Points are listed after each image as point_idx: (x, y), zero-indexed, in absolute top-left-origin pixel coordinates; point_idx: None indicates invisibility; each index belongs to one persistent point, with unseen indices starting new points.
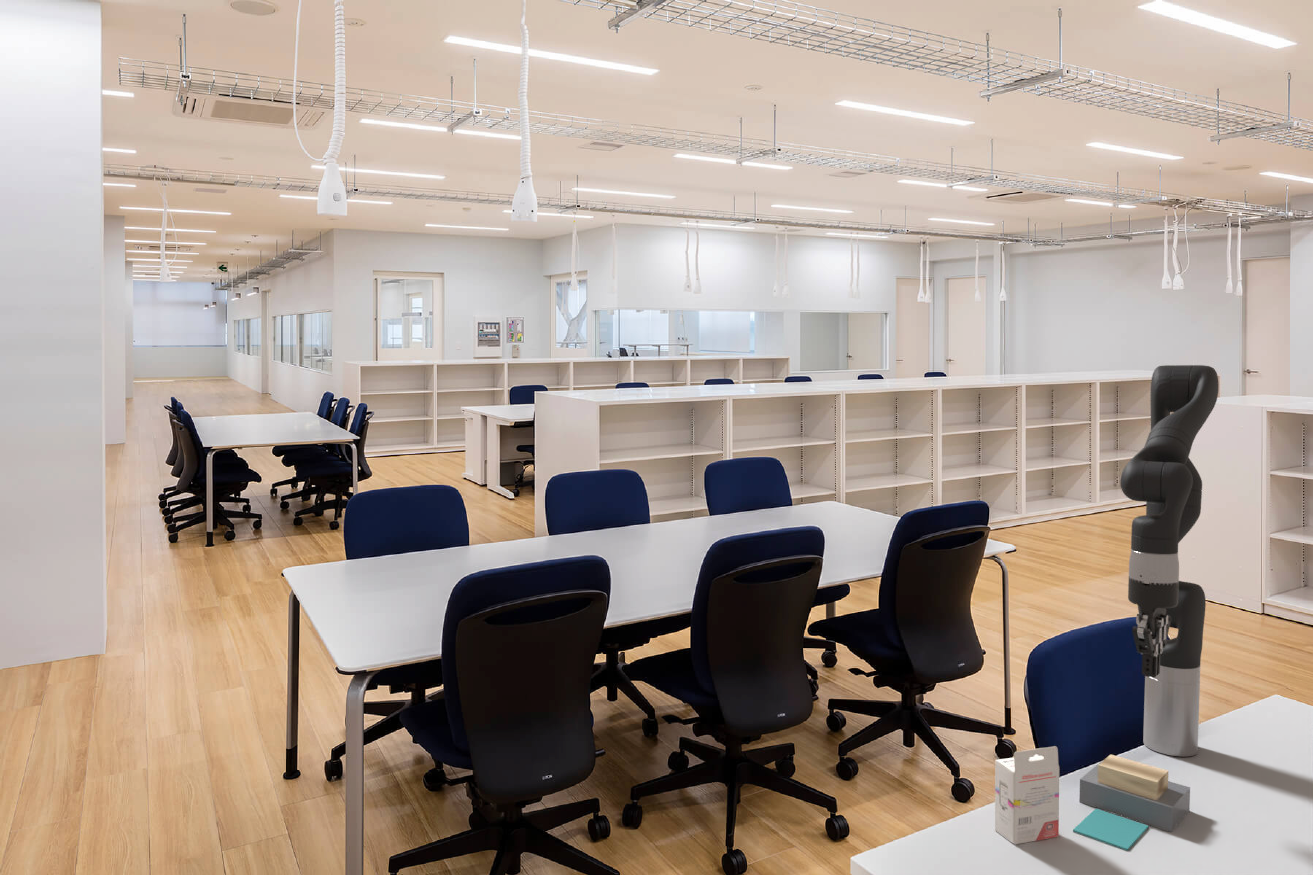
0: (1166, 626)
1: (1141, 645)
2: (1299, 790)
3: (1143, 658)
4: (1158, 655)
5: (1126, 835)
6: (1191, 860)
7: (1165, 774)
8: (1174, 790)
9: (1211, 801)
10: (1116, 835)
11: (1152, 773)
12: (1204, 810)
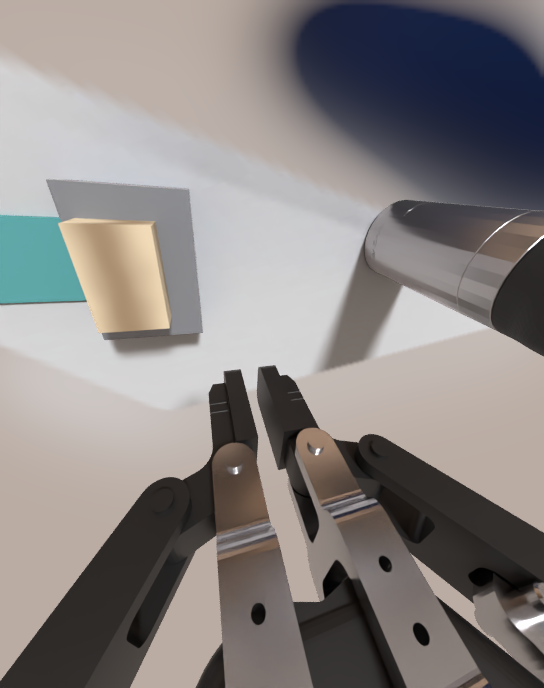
0: (459, 590)
1: (174, 540)
2: (334, 366)
3: (213, 439)
4: (278, 466)
5: (23, 289)
6: (59, 359)
7: (152, 328)
8: (172, 322)
9: (249, 325)
10: (3, 278)
11: (131, 316)
12: (217, 327)
